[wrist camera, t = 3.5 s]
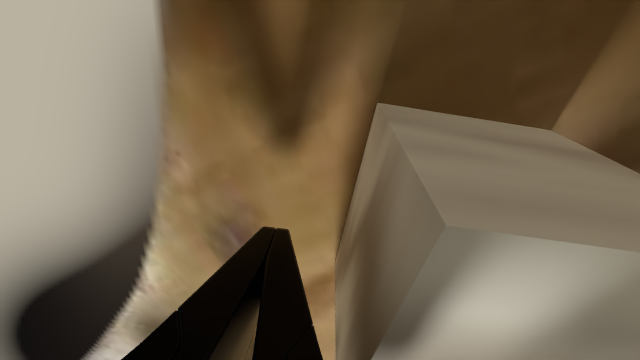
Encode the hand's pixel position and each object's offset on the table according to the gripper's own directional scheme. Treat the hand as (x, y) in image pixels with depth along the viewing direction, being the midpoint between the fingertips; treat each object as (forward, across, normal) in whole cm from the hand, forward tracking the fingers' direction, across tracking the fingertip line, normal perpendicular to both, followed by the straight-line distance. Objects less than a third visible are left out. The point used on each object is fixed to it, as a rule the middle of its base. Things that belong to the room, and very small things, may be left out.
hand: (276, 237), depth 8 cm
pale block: (+3, -6, 0) cm, 6 cm away
